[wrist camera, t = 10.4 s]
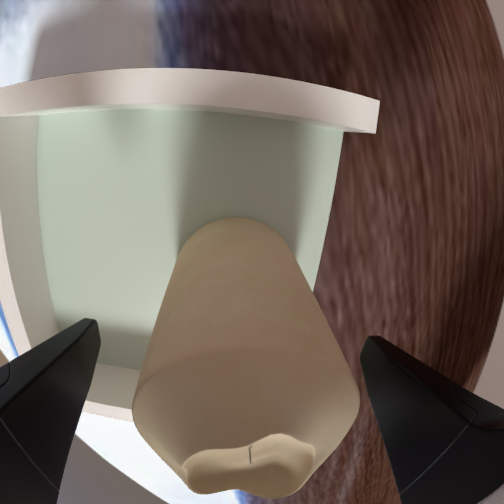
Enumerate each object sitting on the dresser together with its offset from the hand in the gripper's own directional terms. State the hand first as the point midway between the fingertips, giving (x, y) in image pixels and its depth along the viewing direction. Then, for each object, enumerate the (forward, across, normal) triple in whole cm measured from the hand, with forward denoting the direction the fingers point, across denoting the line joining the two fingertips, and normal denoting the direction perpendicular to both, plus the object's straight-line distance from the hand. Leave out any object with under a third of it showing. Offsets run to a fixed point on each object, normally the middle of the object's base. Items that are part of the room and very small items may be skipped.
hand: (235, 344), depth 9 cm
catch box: (+6, +3, 0) cm, 6 cm away
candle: (+6, 0, 0) cm, 6 cm away
